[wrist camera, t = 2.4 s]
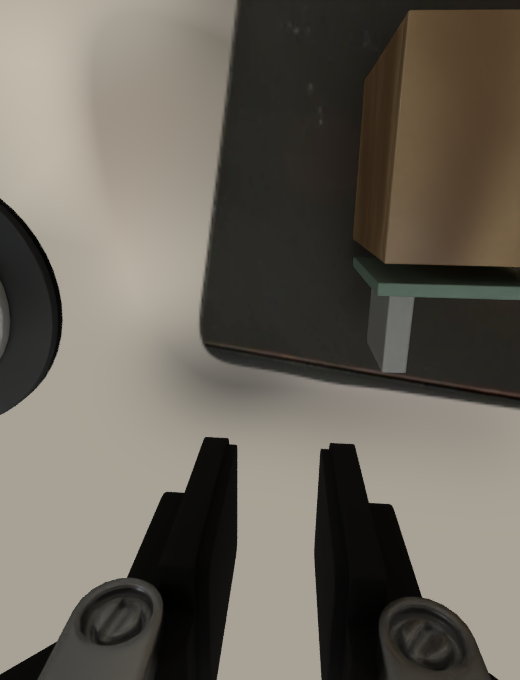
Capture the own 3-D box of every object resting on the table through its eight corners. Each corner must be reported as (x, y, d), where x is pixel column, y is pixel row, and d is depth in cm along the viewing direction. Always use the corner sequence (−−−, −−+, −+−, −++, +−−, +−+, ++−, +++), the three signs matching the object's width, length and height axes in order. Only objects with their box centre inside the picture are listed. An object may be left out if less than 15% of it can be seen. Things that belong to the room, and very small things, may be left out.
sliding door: (347, 331, 30) (368, 384, 22) (353, 256, 29) (378, 282, 20) (473, 336, 30) (545, 392, 21) (486, 259, 28) (567, 287, 20)
